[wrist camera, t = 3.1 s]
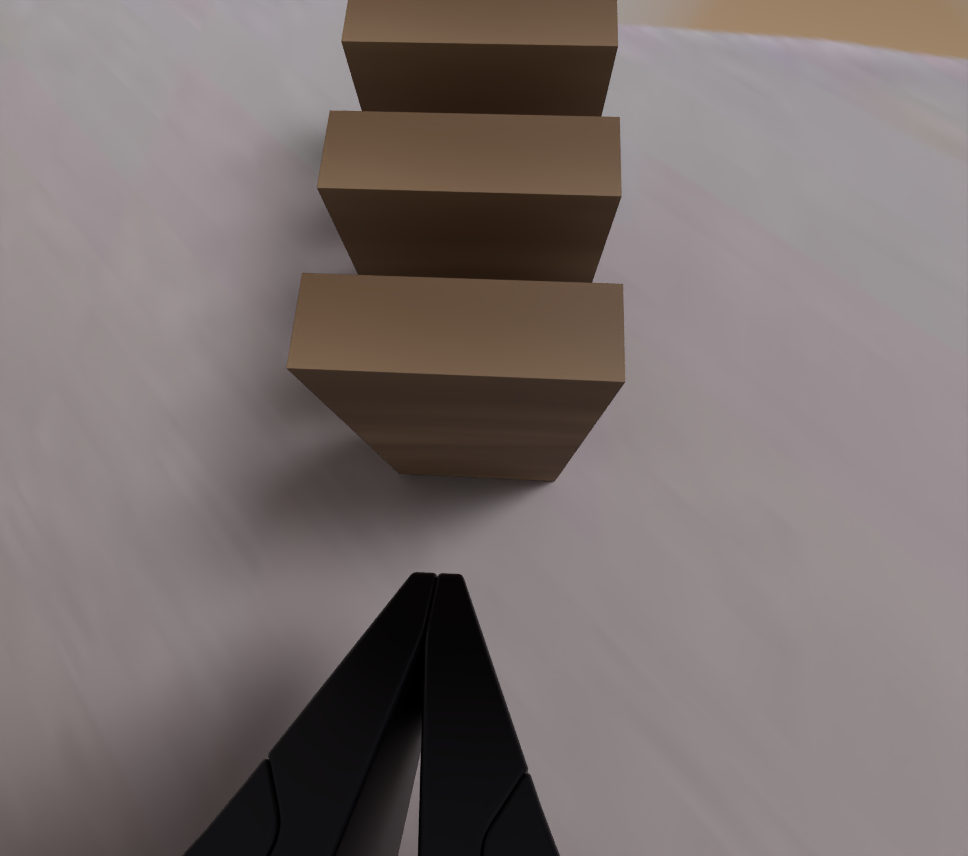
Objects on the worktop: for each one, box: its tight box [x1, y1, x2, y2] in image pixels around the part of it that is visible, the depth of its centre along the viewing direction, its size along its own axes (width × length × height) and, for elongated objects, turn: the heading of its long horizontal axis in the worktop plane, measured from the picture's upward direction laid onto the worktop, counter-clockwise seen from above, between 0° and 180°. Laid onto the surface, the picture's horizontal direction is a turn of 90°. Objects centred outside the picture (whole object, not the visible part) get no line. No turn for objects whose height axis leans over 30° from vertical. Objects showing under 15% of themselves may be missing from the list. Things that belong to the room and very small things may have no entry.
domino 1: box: [286, 273, 625, 481], centre depth 12 cm, size 2×5×9 cm, turn 87°
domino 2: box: [317, 111, 621, 283], centre depth 13 cm, size 2×5×9 cm, turn 87°
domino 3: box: [341, 0, 618, 117], centre depth 14 cm, size 2×5×9 cm, turn 87°
